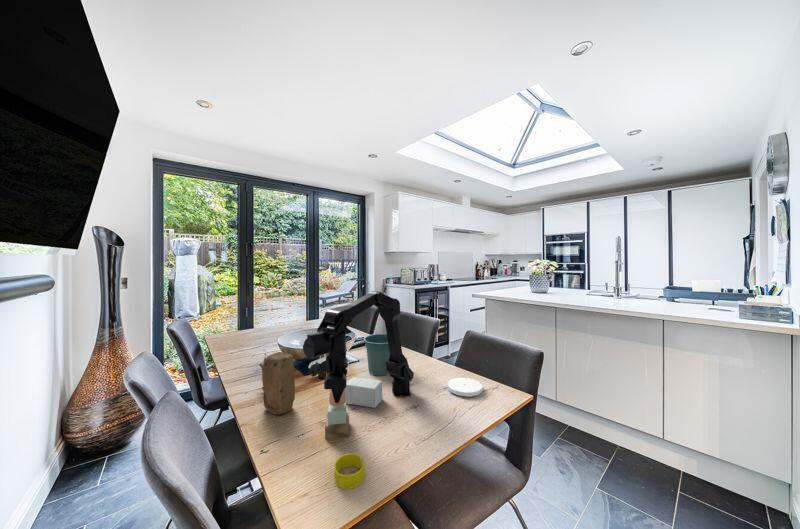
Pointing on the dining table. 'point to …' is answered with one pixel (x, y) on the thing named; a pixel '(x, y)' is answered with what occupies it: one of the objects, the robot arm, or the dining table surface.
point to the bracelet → (352, 479)
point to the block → (278, 382)
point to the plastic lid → (464, 387)
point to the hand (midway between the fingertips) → (337, 398)
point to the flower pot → (377, 353)
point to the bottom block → (337, 429)
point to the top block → (336, 414)
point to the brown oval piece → (342, 400)
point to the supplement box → (364, 392)
